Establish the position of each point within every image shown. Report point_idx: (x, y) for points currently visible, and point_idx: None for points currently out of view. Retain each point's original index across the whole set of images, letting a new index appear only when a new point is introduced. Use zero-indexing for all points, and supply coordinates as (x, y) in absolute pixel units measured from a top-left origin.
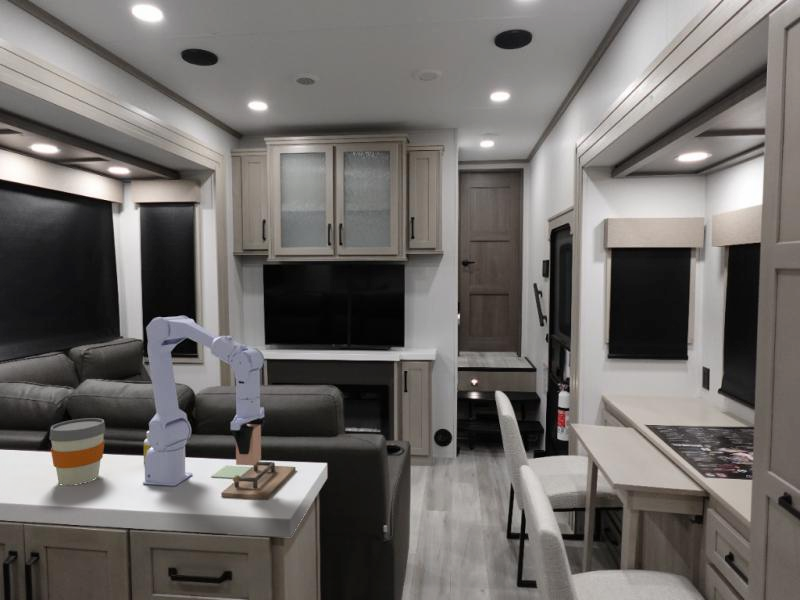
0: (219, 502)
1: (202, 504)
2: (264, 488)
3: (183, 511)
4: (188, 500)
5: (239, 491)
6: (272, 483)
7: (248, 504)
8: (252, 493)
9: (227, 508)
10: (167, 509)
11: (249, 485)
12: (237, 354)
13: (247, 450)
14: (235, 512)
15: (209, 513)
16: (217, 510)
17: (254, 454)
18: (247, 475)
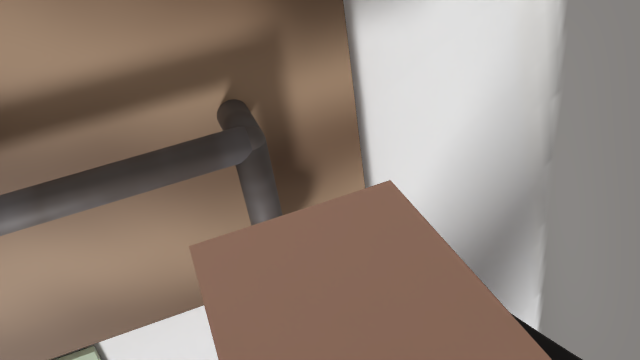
0: (425, 186)
1: (459, 240)
2: (218, 34)
3: (532, 252)
4: None
5: (328, 167)
6: (93, 37)
7: (417, 4)
8: (329, 62)
9: (484, 90)
10: (520, 317)
11: (214, 181)
12: None
13: (531, 327)
14: (525, 7)
15: (543, 134)
16: (511, 123)
17: (410, 260)
18: (63, 321)
